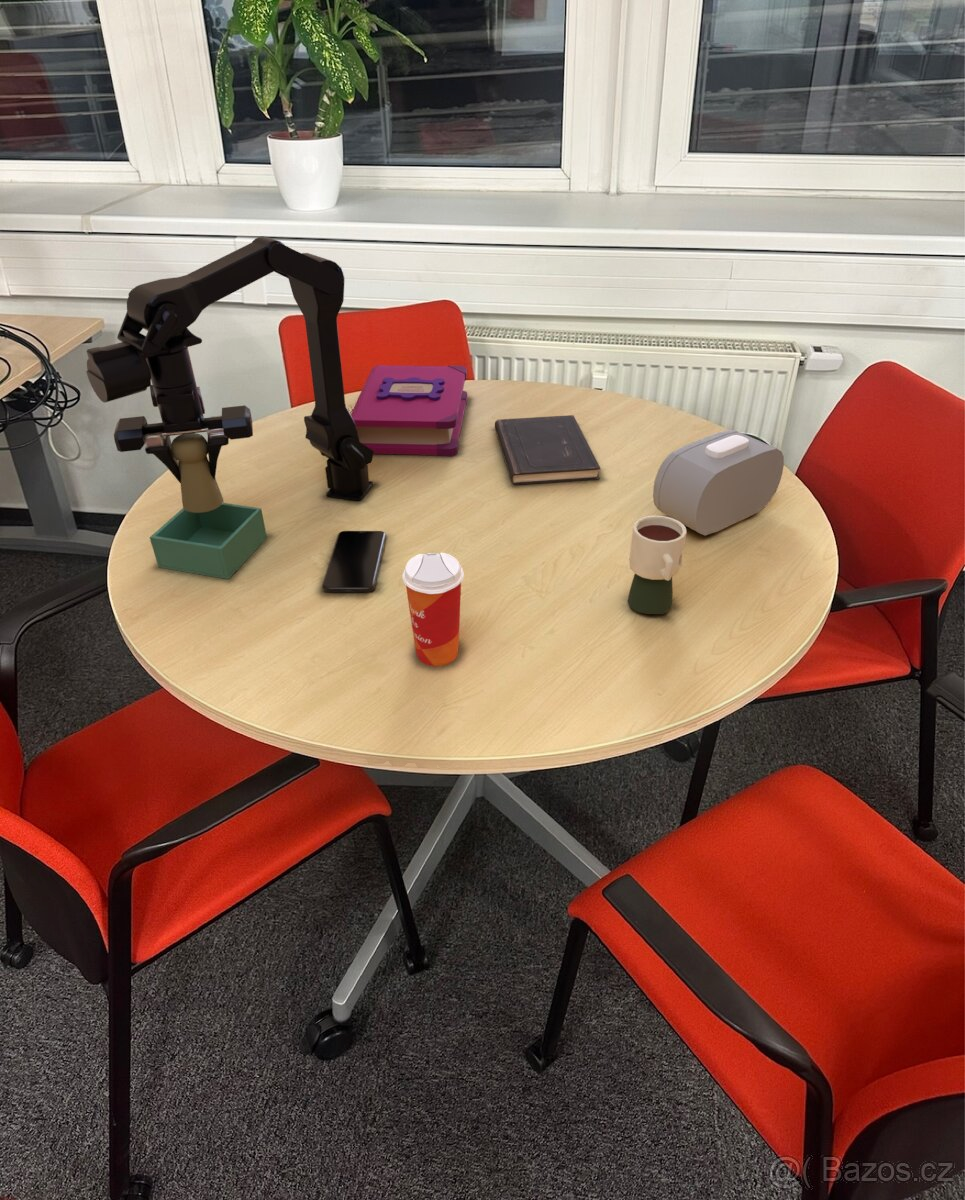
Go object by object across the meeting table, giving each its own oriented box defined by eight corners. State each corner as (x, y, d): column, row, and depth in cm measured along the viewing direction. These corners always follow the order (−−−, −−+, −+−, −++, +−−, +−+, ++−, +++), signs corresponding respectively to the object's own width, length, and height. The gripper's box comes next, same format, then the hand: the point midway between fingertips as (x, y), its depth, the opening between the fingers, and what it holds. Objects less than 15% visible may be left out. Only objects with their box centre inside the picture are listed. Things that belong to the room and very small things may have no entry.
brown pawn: (212, 514, 124) (196, 447, 117) (175, 510, 125) (157, 444, 119) (230, 495, 129) (216, 429, 122) (194, 491, 130) (178, 426, 123)
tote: (267, 537, 134) (261, 508, 131) (228, 579, 125) (221, 548, 122) (200, 527, 137) (193, 498, 134) (158, 567, 128) (149, 537, 124)
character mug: (686, 626, 115) (699, 547, 107) (636, 631, 114) (646, 552, 106) (660, 581, 123) (672, 505, 116) (614, 586, 123) (622, 510, 115)
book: (347, 454, 158) (342, 416, 153) (372, 395, 180) (369, 361, 176) (456, 456, 157) (455, 418, 152) (468, 397, 179) (467, 363, 175)
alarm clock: (730, 486, 146) (744, 415, 138) (774, 508, 140) (791, 435, 132) (647, 522, 137) (656, 448, 129) (690, 547, 131) (703, 471, 123)
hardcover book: (573, 425, 167) (573, 414, 166) (599, 479, 149) (600, 468, 148) (494, 430, 166) (494, 419, 164) (511, 485, 147) (511, 473, 146)
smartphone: (374, 593, 122) (387, 534, 134) (374, 588, 121) (386, 530, 134) (321, 593, 122) (338, 534, 135) (320, 588, 121) (338, 529, 134)
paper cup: (408, 636, 114) (401, 551, 105) (464, 632, 114) (461, 547, 106) (409, 674, 107) (401, 586, 99) (468, 670, 108) (465, 583, 99)
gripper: (241, 354, 123) (259, 449, 133) (109, 366, 120) (137, 463, 129) (242, 382, 115) (261, 482, 124) (100, 396, 111) (131, 498, 120)
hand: (198, 480), depth 125 cm, fingers closed on brown pawn, 4 cm apart
